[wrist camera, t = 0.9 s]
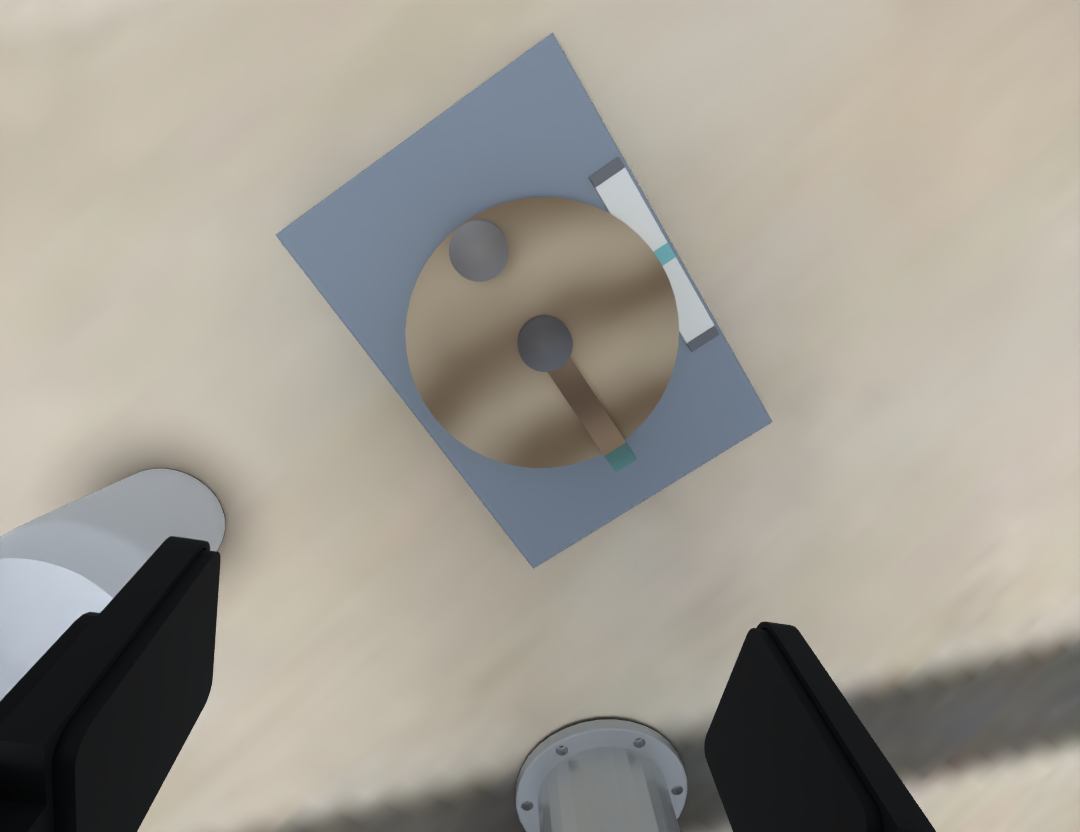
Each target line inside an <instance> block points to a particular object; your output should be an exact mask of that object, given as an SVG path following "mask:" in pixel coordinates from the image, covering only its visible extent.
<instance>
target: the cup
mask: <svg viewBox="0 0 1080 832" xmlns="http://www.w3.org/2000/svg"><path fill="white" fill-rule="evenodd" d="M224 532H225V517H224V513H223V510H222V507H221V505H220V503H219V501H218V500H217V498H216V497H215V495H214V494H213V493H212V492H211V491H210V489H209V488H207V487H206V486H205V485H204V484H203V483H201V482H200V481H199V480H197V479H195V478H194V477H192V476H190V475H187V474H185V473H182V472H179V471H175V470H170V469H149V470H144V471H141V472H138V473H136V474H134V475H131V476H129V477H127V478H125V479H122V480H120V481H118V482H116V483H114V484H111V485H109V486H107V487H105V488H103V489H100V490H98V491H96V492H94V493H92V494H89V495H87V496H85V497H83V498H81V499H78V500H76V501H74V502H72V503H70V504H67V505H65V506H63V507H61V508H59V509H56V510H54V511H52V512H50V513H48V514H45V515H43V516H41V517H39V518H37V519H34V520H32V521H30V522H28V523H26V524H24V525H21V526H19V527H17V528H15V529H14V530H12V531H10V532H8V533H6V534H5V535H3V536H1V537H0V701H1V700H2V699H3V698H4V696H5V695H6V694H7V693H8V692H9V691H10V690H11V689H12V688H13V687H14V686H15V685H16V684H17V683H18V681H19V680H20V679H21V678H22V677H23V676H24V675H25V674H26V673H27V672H28V671H29V670H30V669H31V668H32V666H33V665H34V664H35V663H36V662H37V661H38V660H39V659H40V658H41V657H42V656H43V655H44V654H45V653H46V651H47V650H48V649H49V648H50V647H51V646H52V645H53V644H54V643H55V642H56V641H57V640H58V639H59V637H60V636H61V635H62V634H63V633H64V632H65V631H66V630H67V629H68V628H69V627H70V626H71V625H72V624H73V622H74V621H76V620H77V619H78V618H79V617H80V616H81V615H83V614H85V613H88V612H96V613H101V611H102V610H103V609H104V608H105V607H106V606H107V605H108V604H109V603H110V601H111V600H112V599H113V598H114V597H115V596H116V595H117V594H118V592H119V591H120V590H121V589H122V588H123V587H124V586H125V585H126V583H127V582H128V581H129V580H130V579H131V578H132V577H133V576H134V574H135V573H136V572H137V571H138V570H139V569H140V568H141V567H142V565H143V564H144V563H145V562H146V561H147V560H148V559H149V558H150V557H151V555H152V554H153V553H154V552H155V551H156V550H157V549H158V548H159V546H160V545H161V544H162V543H163V542H164V541H165V540H166V539H167V538H168V537H170V536H176V537H183V538H190V539H197V540H204V541H208V542H209V545H210V551H216V552H217V550H218V548H219V546H220V544H221V542H222V539H223V536H224Z"/></svg>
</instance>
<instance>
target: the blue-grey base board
mask: <svg viewBox="0 0 1080 832" xmlns="http://www.w3.org/2000/svg"><path fill="white" fill-rule="evenodd" d="M532 197H557V198H564V199H571V200H576V201H579V202H582V203H586V204H589V205H592V206H595V207H597V208H599V209H601V210H603V211H606V212H608V213H610V214H611V215H613V216H615V217H616V218H618V219H619V220H621V221H622V222H624V223H625V224H627V225H628V226H629V227H630V228H631V229H632V230H634V231H635V232H636V233H637V234H638V235H639V236H640V237H641V238H642V239H643V240H644V241H645V242H646V243H647V245H648V246H649V247H650V248H651V249H652V251H653V252H654V254H655V255H656V257H657V258H658V260H659V261H660V263H661V264H662V266H663V268H664V270H665V272H666V274H667V276H668V278H669V281H670V284H671V287H672V290H673V293H674V296H675V300H676V305H677V311H678V319H679V341H678V351H677V356H676V361H675V366H674V369H673V372H672V375H671V378H670V381H669V383H668V385H667V387H666V389H665V391H664V393H663V395H662V397H661V399H660V401H659V402H658V404H657V405H656V407H655V408H654V410H653V411H652V413H651V414H650V415H649V416H648V418H647V419H646V420H645V421H644V422H643V423H642V425H641V426H640V427H639V428H637V429H636V430H635V431H634V432H633V433H632V434H631V435H630V436H629V437H628V438H626V439H625V441H626V442H627V444H628V445H629V447H630V448H631V450H632V451H633V453H634V455H635V456H636V458H637V460H635V461H634V462H632V463H631V464H629V465H627V466H626V467H624V468H623V469H621V470H619V471H618V472H616V473H615V471H614V470H613V468H612V467H611V465H610V464H609V462H608V461H607V459H606V458H605V456H604V455H603V453H602V454H601V455H598V456H596V457H593V458H591V459H588V460H586V461H583V462H579V463H576V464H572V465H568V466H561V467H554V468H528V467H518V466H514V465H509V464H505V463H501V462H498V461H495V460H493V459H490V458H487V457H485V456H483V455H481V454H479V453H477V452H475V451H473V450H471V449H469V448H468V447H467V446H465V445H464V444H462V443H461V442H459V441H458V440H456V439H455V438H454V437H453V436H452V435H451V434H450V433H449V432H447V431H446V430H445V429H444V428H443V427H442V426H441V424H440V423H439V422H438V421H437V420H436V419H435V418H434V416H433V415H432V414H431V412H430V411H429V409H428V408H427V406H426V405H425V403H424V402H423V400H422V398H421V396H420V394H419V392H418V390H417V388H416V386H415V383H414V380H413V377H412V374H411V371H410V367H409V362H408V357H407V352H406V336H405V331H406V318H407V312H408V307H409V302H410V298H411V295H412V292H413V289H414V286H415V284H416V281H417V279H418V277H419V275H420V273H421V271H422V269H423V267H424V265H425V263H426V262H427V260H428V259H429V258H430V256H431V255H432V253H433V252H434V251H435V249H436V248H437V247H438V246H439V245H440V244H441V242H442V241H443V240H444V239H445V238H446V237H447V236H448V235H449V234H450V233H451V232H453V231H454V230H455V229H456V228H458V227H459V226H460V225H461V224H462V223H464V222H465V221H467V220H468V219H470V218H472V217H473V216H475V215H477V214H478V213H480V212H482V211H484V210H487V209H489V208H491V207H494V206H496V205H499V204H502V203H506V202H509V201H513V200H517V199H524V198H532ZM276 236H277V238H278V239H279V240H280V241H281V243H282V244H283V245H284V247H285V248H286V249H287V250H288V252H289V253H290V254H291V256H292V257H293V258H294V260H295V261H296V262H297V263H298V265H299V266H300V267H301V269H302V270H303V271H304V272H305V274H306V275H307V276H308V278H309V279H310V280H311V282H312V283H313V284H314V285H315V287H316V288H317V289H318V291H319V292H320V293H321V294H322V296H323V297H324V298H325V300H326V301H327V302H328V304H329V305H330V306H331V307H332V309H333V310H334V311H335V313H336V314H337V315H338V316H339V318H340V319H341V320H342V322H343V323H344V324H345V326H346V327H347V328H348V329H349V331H350V332H351V333H352V335H353V336H354V337H355V338H356V340H357V341H358V342H359V344H360V345H361V346H362V348H363V349H364V350H365V351H366V353H367V354H368V355H369V357H370V358H371V359H372V360H373V362H374V363H375V364H376V366H377V367H378V368H379V370H380V371H381V372H382V373H383V375H384V376H385V377H386V379H387V380H388V381H389V382H390V384H391V385H392V386H393V388H394V389H395V390H396V392H397V393H398V394H399V395H400V397H401V398H402V399H403V401H404V402H405V403H406V404H407V406H408V407H409V408H410V410H411V411H412V412H413V414H414V415H415V416H416V417H417V419H418V420H419V421H420V423H421V424H422V425H423V426H424V428H425V429H426V430H427V432H428V433H429V434H430V436H431V437H432V438H433V439H434V441H435V442H436V443H437V445H438V446H439V447H440V448H441V450H442V451H443V452H444V454H445V455H446V456H447V458H448V459H449V460H450V461H451V463H452V464H453V465H454V467H455V468H456V469H457V470H458V472H459V473H460V474H461V476H462V477H463V478H464V480H465V481H466V482H467V483H468V485H469V486H470V487H471V489H472V490H473V491H474V492H475V494H476V495H477V496H478V498H479V499H480V500H481V502H482V503H483V504H484V505H485V507H486V508H487V509H488V511H489V512H490V513H491V514H492V516H493V517H494V518H495V520H496V521H497V522H498V524H499V525H500V526H501V527H502V529H503V530H504V531H505V533H506V534H507V535H508V536H509V538H510V539H511V540H512V542H513V543H514V544H515V546H516V547H517V548H518V549H519V551H520V552H521V553H522V555H523V556H524V557H525V558H526V560H527V561H528V562H529V564H530V565H531V566H532V568H535V567H537V566H538V565H540V564H542V563H543V562H545V561H547V560H548V559H550V558H551V557H553V556H555V555H556V554H558V553H560V552H561V551H563V550H564V549H566V548H568V547H569V546H571V545H573V544H574V543H576V542H577V541H579V540H581V539H582V538H584V537H586V536H587V535H589V534H590V533H592V532H594V531H595V530H597V529H599V528H600V527H602V526H604V525H605V524H607V523H608V522H610V521H612V520H613V519H615V518H617V517H618V516H620V515H621V514H623V513H625V512H626V511H628V510H630V509H631V508H633V507H634V506H636V505H638V504H639V503H641V502H643V501H644V500H646V499H648V498H649V497H651V496H652V495H654V494H656V493H657V492H659V491H661V490H662V489H664V488H665V487H667V486H669V485H670V484H672V483H674V482H675V481H677V480H678V479H680V478H682V477H683V476H685V475H687V474H688V473H690V472H691V471H693V470H695V469H696V468H698V467H700V466H701V465H703V464H705V463H706V462H708V461H709V460H711V459H713V458H714V457H716V456H718V455H719V454H721V453H722V452H724V451H726V450H727V449H729V448H731V447H732V446H734V445H735V444H737V443H739V442H740V441H742V440H744V439H745V438H747V437H748V436H750V435H752V434H753V433H755V432H757V431H758V430H760V429H762V428H763V427H765V426H766V425H768V424H770V423H771V422H772V420H771V418H770V417H769V415H768V413H767V411H766V410H765V408H764V406H763V404H762V403H761V401H760V399H759V397H758V395H757V394H756V392H755V390H754V388H753V387H752V385H751V383H750V381H749V379H748V378H747V376H746V374H745V372H744V371H743V369H742V367H741V365H740V364H739V362H738V360H737V358H736V356H735V355H734V353H733V351H732V349H731V348H730V346H729V344H728V342H727V341H726V339H725V337H724V335H723V333H722V332H721V330H720V328H719V326H718V325H717V323H716V321H715V319H714V318H713V316H712V314H711V312H710V310H709V309H708V307H707V305H706V303H705V302H704V300H703V298H702V296H701V295H700V293H699V291H698V289H697V287H696V286H695V284H694V282H693V280H692V279H691V277H690V275H689V273H688V272H687V270H686V268H685V266H684V264H683V263H682V261H681V259H680V257H679V256H678V254H677V252H676V250H675V248H674V247H673V245H672V243H671V241H670V240H669V238H668V236H667V234H666V233H665V231H664V229H663V227H662V225H661V224H660V222H659V220H658V218H657V217H656V215H655V213H654V211H653V210H652V208H651V206H650V204H649V202H648V201H647V199H646V197H645V195H644V194H643V192H642V190H641V188H640V187H639V185H638V183H637V181H636V179H635V178H634V176H633V174H632V172H631V171H630V169H629V167H628V165H627V164H626V162H625V160H624V158H623V156H622V155H621V153H620V151H619V149H618V148H617V146H616V144H615V142H614V141H613V139H612V137H611V135H610V133H609V132H608V130H607V128H606V126H605V125H604V123H603V121H602V119H601V117H600V116H599V114H598V112H597V110H596V109H595V107H594V105H593V103H592V102H591V100H590V98H589V96H588V94H587V93H586V91H585V89H584V87H583V86H582V84H581V82H580V80H579V79H578V77H577V75H576V73H575V71H574V70H573V68H572V66H571V64H570V63H569V61H568V59H567V57H566V56H565V54H564V52H563V50H562V48H561V47H560V45H559V43H558V41H557V40H556V38H555V36H554V34H553V33H552V34H550V35H549V36H548V37H546V38H545V39H543V40H542V41H541V42H539V43H538V44H537V45H535V46H534V47H532V48H531V49H530V50H528V51H527V52H526V53H524V54H523V55H521V56H520V57H519V58H517V59H516V60H515V61H513V62H512V63H511V64H509V65H508V66H506V67H505V68H504V69H502V70H501V71H500V72H498V73H497V74H495V75H494V76H493V77H491V78H490V79H489V80H487V81H486V82H484V83H483V84H482V85H480V86H479V87H478V88H476V89H475V90H474V91H472V92H471V93H469V94H468V95H467V96H465V97H464V98H463V99H461V100H460V101H458V102H457V103H456V104H454V105H453V106H452V107H450V108H449V109H447V110H446V111H445V112H443V113H442V114H441V115H439V116H438V117H436V118H435V119H434V120H432V121H431V122H430V123H428V124H427V125H426V126H424V127H423V128H421V129H420V130H419V131H417V132H416V133H415V134H413V135H412V136H410V137H409V138H408V139H406V140H405V141H404V142H402V143H401V144H399V145H398V146H397V147H395V148H394V149H393V150H391V151H390V152H389V153H387V154H386V155H384V156H383V157H382V158H380V159H379V160H378V161H376V162H375V163H373V164H372V165H371V166H369V167H368V168H367V169H365V170H364V171H362V172H361V173H360V174H358V175H357V176H356V177H354V178H353V179H352V180H350V181H349V182H347V183H346V184H345V185H343V186H342V187H341V188H339V189H338V190H336V191H335V192H334V193H332V194H331V195H330V196H328V197H327V198H325V199H324V200H323V201H321V202H320V203H319V204H317V205H316V206H314V207H313V208H312V209H310V210H309V211H308V212H306V213H305V214H304V215H302V216H301V217H299V218H298V219H297V220H295V221H294V222H293V223H291V224H290V225H288V226H287V227H286V228H284V229H283V230H282V231H280V232H279V233H277V234H276Z"/></svg>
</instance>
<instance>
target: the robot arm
mask: <svg viewBox="0 0 1080 832" xmlns="http://www.w3.org/2000/svg"><path fill="white" fill-rule="evenodd" d="M219 573H220V553H219V552H216V551H210V545H209V542H208V541H204V540H197V539H190V538H183V537H176V536H170V537H168V538H167V539H166V540H165V541H164V542H163V543H162V544H161V545H160V546H159V548H158V549H157V550H156V551H155V552H154V553H153V554H152V555H151V557H150V558H149V559H148V560H147V561H146V562H145V563H144V564H143V565H142V567H141V568H140V569H139V570H138V571H137V572H136V573H135V574H134V576H133V577H132V578H131V579H130V580H129V581H128V582H127V583H126V585H125V586H124V587H123V588H122V589H121V590H120V591H119V592H118V594H117V595H116V596H115V597H114V598H113V599H112V600H111V601H110V603H109V604H108V605H107V606H106V607H105V608H104V609H103V610H102V611H101V613H96V612H88V613H85V614H83V615H81V616H80V617H79V618H78V619H77V620H76V621H74V622H73V624H72V625H71V626H70V627H69V628H68V629H67V630H66V631H65V632H64V633H63V634H62V635H61V636H60V637H59V639H58V640H57V641H56V642H55V643H54V644H53V645H52V646H51V647H50V648H49V649H48V650H47V651H46V653H45V654H44V655H43V656H42V657H41V658H40V659H39V660H38V661H37V662H36V663H35V664H34V665H33V666H32V668H31V669H30V670H29V671H28V672H27V673H26V674H25V675H24V676H23V677H22V678H21V679H20V680H19V681H18V683H17V684H16V685H15V686H14V687H13V688H12V689H11V690H10V691H9V692H8V693H7V694H6V695H5V696H4V698H3V699H2V700H1V701H0V832H137V831H138V829H139V827H140V825H141V823H142V821H143V819H144V817H145V816H146V814H147V812H148V810H149V808H150V806H151V804H152V803H153V801H154V799H155V797H156V795H157V793H158V791H159V790H160V788H161V786H162V784H163V782H164V780H165V778H166V777H167V775H168V773H169V771H170V769H171V767H172V765H173V764H174V762H175V760H176V758H177V756H178V754H179V752H180V751H181V749H182V747H183V745H184V743H185V741H186V739H187V737H188V736H189V734H190V732H191V730H192V728H193V726H194V724H195V723H196V721H197V719H198V717H199V715H200V713H201V711H202V710H203V708H204V706H205V704H206V702H207V699H208V696H209V693H210V690H211V686H212V679H213V664H214V649H215V634H216V619H217V604H218V588H219ZM705 756H706V760H707V763H708V766H709V768H710V771H711V774H712V776H713V779H714V782H715V784H716V787H717V790H718V792H719V795H720V798H721V800H722V803H723V806H724V808H725V811H726V814H727V816H728V819H729V822H730V824H731V827H732V830H733V832H936V831H935V829H934V828H933V826H932V825H931V823H930V822H929V820H928V819H927V818H926V816H925V815H924V813H923V812H922V810H921V809H920V807H919V806H918V804H917V803H916V801H915V800H914V799H913V797H912V796H911V794H910V793H909V791H908V790H907V788H906V787H905V785H904V784H903V782H902V781H901V780H900V778H899V777H898V775H897V774H896V772H895V771H894V769H893V768H892V766H891V765H890V763H889V762H888V761H887V759H886V758H885V756H884V755H883V753H882V752H881V750H880V749H879V747H878V746H877V744H876V743H875V742H874V740H873V739H872V737H871V736H870V734H869V733H868V731H867V730H866V728H865V727H864V725H863V724H862V723H861V721H860V720H859V718H858V717H857V715H856V714H855V712H854V711H853V709H852V708H851V706H850V705H849V704H848V702H847V701H846V699H845V698H844V696H843V695H842V693H841V692H840V690H839V689H838V687H837V686H836V685H835V683H834V682H833V680H832V679H831V677H830V676H829V674H828V673H827V671H826V670H825V668H824V667H823V666H822V664H821V663H820V661H819V660H818V658H817V657H816V655H815V654H814V652H813V651H812V649H811V648H810V647H809V645H808V644H807V642H806V641H805V639H804V638H803V636H802V635H801V633H800V632H799V631H798V629H797V628H796V627H794V626H791V625H785V624H778V623H771V622H761V623H760V624H759V625H758V626H757V628H753V629H751V630H750V631H749V632H748V634H747V636H746V638H745V641H744V643H743V646H742V648H741V651H740V653H739V656H738V658H737V661H736V663H735V666H734V668H733V671H732V673H731V676H730V678H729V681H728V683H727V685H726V688H725V690H724V693H723V695H722V698H721V700H720V703H719V705H718V708H717V710H716V713H715V715H714V718H713V720H712V723H711V725H710V728H709V730H708V733H707V735H706V739H705ZM686 796H687V778H686V774H685V771H684V767H683V764H682V762H681V759H680V757H679V755H678V753H677V751H676V750H675V749H674V747H673V746H672V745H671V743H670V742H669V741H668V740H666V739H665V738H664V737H663V736H662V735H660V734H659V733H658V732H656V731H654V730H652V729H650V728H648V727H646V726H643V725H640V724H637V723H634V722H630V721H623V720H616V719H608V720H594V721H588V722H582V723H579V724H576V725H573V726H570V727H567V728H565V729H563V730H561V731H559V732H557V733H555V734H553V735H551V736H550V737H549V738H547V739H546V740H545V741H543V742H542V743H541V744H539V745H538V746H537V747H536V748H535V750H534V751H533V752H532V753H531V754H530V755H529V756H528V758H527V759H526V761H525V763H524V764H523V766H522V767H521V770H520V773H519V776H518V779H517V784H516V809H517V812H518V816H519V819H520V822H521V824H522V825H523V827H524V829H525V831H526V832H680V828H679V825H678V822H677V819H678V817H679V816H680V814H681V812H682V809H683V807H684V805H685V801H686Z"/></svg>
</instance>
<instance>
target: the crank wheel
mask: <svg viewBox="0 0 1080 832" xmlns="http://www.w3.org/2000/svg"><path fill="white" fill-rule="evenodd" d="M405 336H406V352H407V357H408V362H409V367H410V371H411V374H412V377H413V380H414V383H415V386H416V388H417V390H418V392H419V394H420V396H421V398H422V400H423V402H424V403H425V405H426V406H427V408H428V409H429V411H430V412H431V414H432V415H433V416H434V418H435V419H436V420H437V421H438V422H439V423H440V424H441V426H442V427H443V428H444V429H445V430H446V431H447V432H449V433H450V434H451V435H452V436H453V437H454V438H455V439H456V440H458V441H459V442H461V443H462V444H464V445H465V446H467V447H468V448H469V449H471V450H473V451H475V452H477V453H479V454H481V455H483V456H485V457H487V458H490V459H493V460H495V461H498V462H501V463H505V464H509V465H514V466H518V467H528V468H554V467H561V466H568V465H572V464H576V463H579V462H583V461H586V460H588V459H591V458H593V457H596V456H598V455H601V454H602V453H603V455H604V456H605V458H606V459H607V461H608V462H609V464H610V465H611V467H612V468H613V470H614V471H615V473H616V472H618V471H619V470H621V469H623V468H624V467H626V466H627V465H629V464H631V463H632V462H634V461H635V460H637V458H636V456H635V455H634V453H633V451H632V450H631V448H630V447H629V445H628V444H627V442H626V441H625V439H626V438H628V437H629V436H630V435H631V434H632V433H633V432H634V431H635V430H636V429H637V428H639V427H640V426H641V425H642V423H643V422H644V421H645V420H646V419H647V418H648V416H649V415H650V414H651V413H652V411H653V410H654V408H655V407H656V405H657V404H658V402H659V401H660V399H661V397H662V395H663V393H664V391H665V389H666V387H667V385H668V383H669V381H670V378H671V375H672V372H673V369H674V366H675V361H676V356H677V351H678V341H679V319H678V311H677V305H676V300H675V296H674V293H673V290H672V287H671V284H670V281H669V278H668V276H667V274H666V272H665V270H664V268H663V266H662V264H661V263H660V261H659V260H658V258H657V257H656V255H655V254H654V252H653V251H652V249H651V248H650V247H649V246H648V245H647V243H646V242H645V241H644V240H643V239H642V238H641V237H640V236H639V235H638V234H637V233H636V232H635V231H634V230H632V229H631V228H630V227H629V226H628V225H627V224H625V223H624V222H622V221H621V220H619V219H618V218H616V217H615V216H613V215H611V214H610V213H608V212H606V211H603V210H601V209H599V208H597V207H595V206H592V205H589V204H586V203H582V202H579V201H576V200H571V199H564V198H557V197H532V198H524V199H517V200H513V201H509V202H506V203H502V204H499V205H496V206H494V207H491V208H489V209H487V210H484V211H482V212H480V213H478V214H477V215H475V216H473V217H472V218H470V219H468V220H467V221H465V222H464V223H462V224H461V225H460V226H459V227H458V228H456V229H455V230H454V231H453V232H451V233H450V234H449V235H448V236H447V237H446V238H445V239H444V240H443V241H442V242H441V244H440V245H439V246H438V247H437V248H436V249H435V251H434V252H433V253H432V255H431V256H430V258H429V259H428V260H427V262H426V263H425V265H424V267H423V269H422V271H421V273H420V275H419V277H418V279H417V281H416V284H415V286H414V289H413V292H412V295H411V298H410V302H409V307H408V312H407V318H406V331H405Z"/></svg>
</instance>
